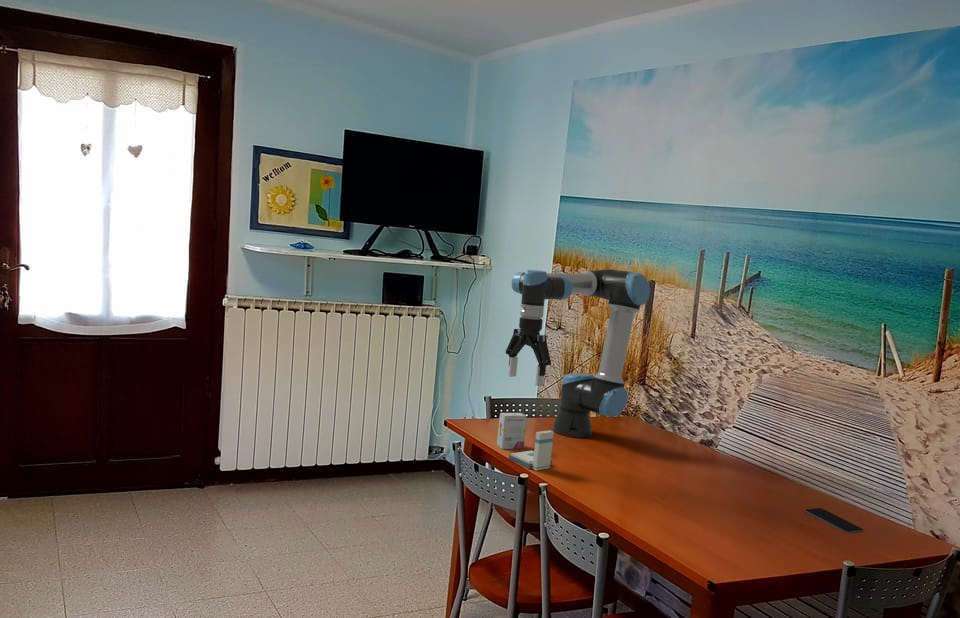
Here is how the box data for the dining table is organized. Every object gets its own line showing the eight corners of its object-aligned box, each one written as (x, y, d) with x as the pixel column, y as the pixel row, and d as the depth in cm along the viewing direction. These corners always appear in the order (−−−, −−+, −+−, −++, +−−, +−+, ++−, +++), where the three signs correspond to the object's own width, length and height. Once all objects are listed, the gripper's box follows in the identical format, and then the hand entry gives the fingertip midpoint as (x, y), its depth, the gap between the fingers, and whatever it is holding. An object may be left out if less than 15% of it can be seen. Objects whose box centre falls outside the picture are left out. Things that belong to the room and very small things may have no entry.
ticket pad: (531, 456, 238) (531, 449, 237) (551, 465, 230) (552, 458, 230) (508, 459, 231) (509, 453, 231) (529, 469, 224) (529, 462, 223)
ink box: (518, 444, 250) (521, 412, 249) (524, 448, 245) (527, 415, 244) (496, 445, 247) (499, 412, 246) (501, 449, 242) (505, 415, 241)
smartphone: (846, 532, 196) (803, 509, 209) (846, 535, 196) (802, 512, 209) (865, 529, 198) (820, 507, 212) (864, 533, 199) (820, 511, 212)
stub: (545, 466, 228) (549, 430, 226) (549, 468, 226) (553, 431, 225) (532, 468, 224) (536, 432, 223) (536, 470, 222) (540, 433, 221)
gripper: (498, 311, 238) (493, 373, 240) (548, 323, 218) (542, 390, 221) (515, 311, 243) (510, 372, 245) (566, 323, 223) (559, 388, 225)
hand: (525, 380), depth 233 cm, fingers open, 13 cm apart
